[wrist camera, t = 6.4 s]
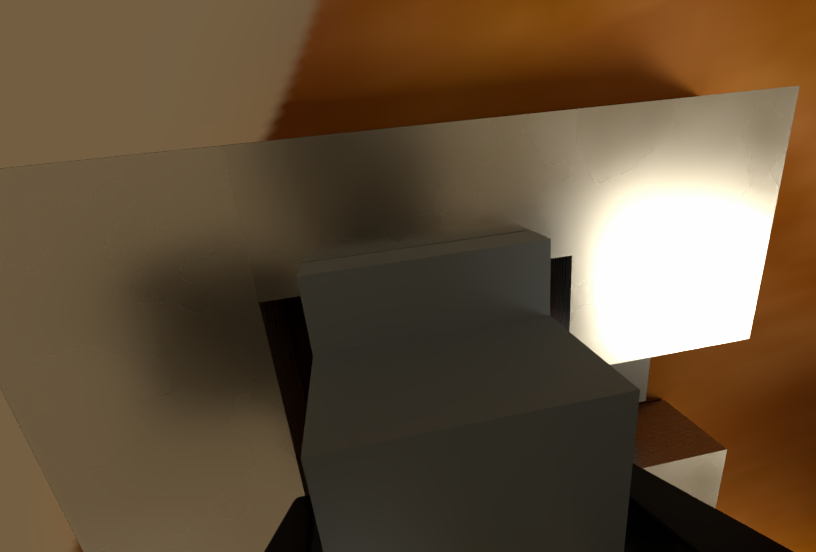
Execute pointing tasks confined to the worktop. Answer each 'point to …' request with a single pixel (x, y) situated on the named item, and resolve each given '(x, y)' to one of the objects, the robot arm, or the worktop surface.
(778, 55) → the worktop surface
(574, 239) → the plate
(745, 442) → the worktop surface
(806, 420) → the worktop surface
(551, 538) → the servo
